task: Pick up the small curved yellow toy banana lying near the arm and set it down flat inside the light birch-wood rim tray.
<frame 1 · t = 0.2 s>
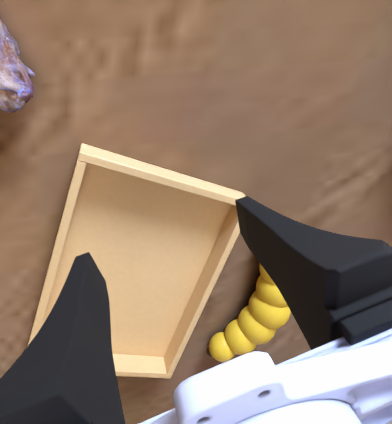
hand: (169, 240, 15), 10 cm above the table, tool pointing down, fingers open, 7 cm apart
tray: (132, 272, 28), on the table
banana: (260, 293, 33), on the table
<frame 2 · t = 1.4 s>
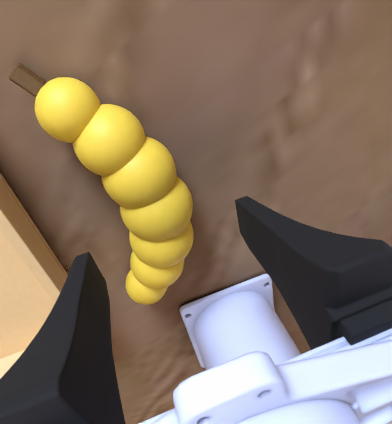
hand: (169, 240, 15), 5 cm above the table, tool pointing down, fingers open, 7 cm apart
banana: (150, 188, 19), on the table
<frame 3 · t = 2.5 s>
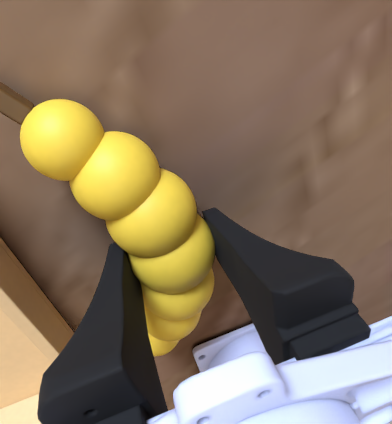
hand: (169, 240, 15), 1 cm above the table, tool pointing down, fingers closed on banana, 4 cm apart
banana: (162, 224, 16), on the table, touching gripper
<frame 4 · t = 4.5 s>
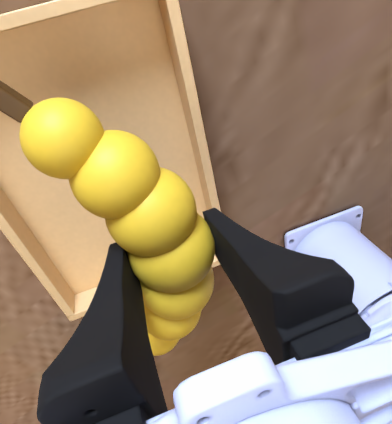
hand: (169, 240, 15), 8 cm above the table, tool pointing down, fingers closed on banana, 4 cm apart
tray: (105, 173, 21), on the table
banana: (162, 223, 16), point 7 cm above the table, touching gripper
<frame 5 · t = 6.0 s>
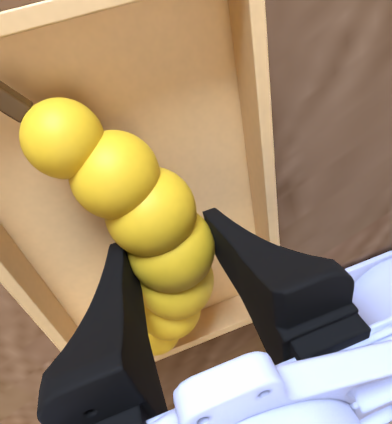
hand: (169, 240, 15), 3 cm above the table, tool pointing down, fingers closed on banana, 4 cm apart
tray: (140, 212, 17), on the table
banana: (162, 223, 16), point 1 cm above the table, touching gripper
when the fingers open (2 cm above the table, at t = 6.6 s): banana stays where it is, resting on tray.
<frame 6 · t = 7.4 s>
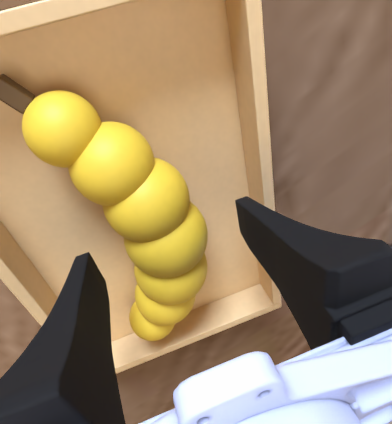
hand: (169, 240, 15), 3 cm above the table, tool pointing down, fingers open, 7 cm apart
tray: (139, 209, 17), on the table
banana: (158, 213, 17), resting on tray
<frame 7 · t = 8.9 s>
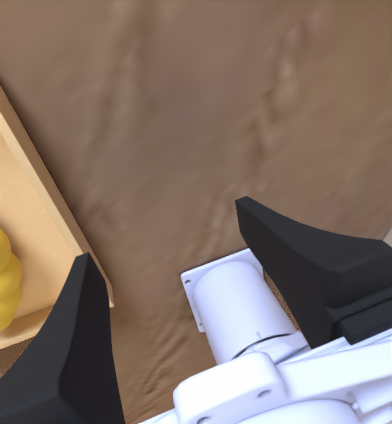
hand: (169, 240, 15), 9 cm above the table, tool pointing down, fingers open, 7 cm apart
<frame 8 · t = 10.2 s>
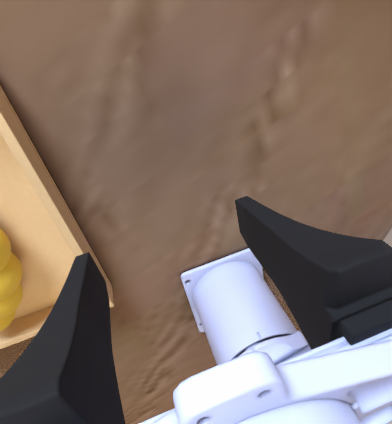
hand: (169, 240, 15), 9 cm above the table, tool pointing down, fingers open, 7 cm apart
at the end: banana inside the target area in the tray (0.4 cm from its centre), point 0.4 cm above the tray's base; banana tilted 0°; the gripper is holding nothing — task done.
